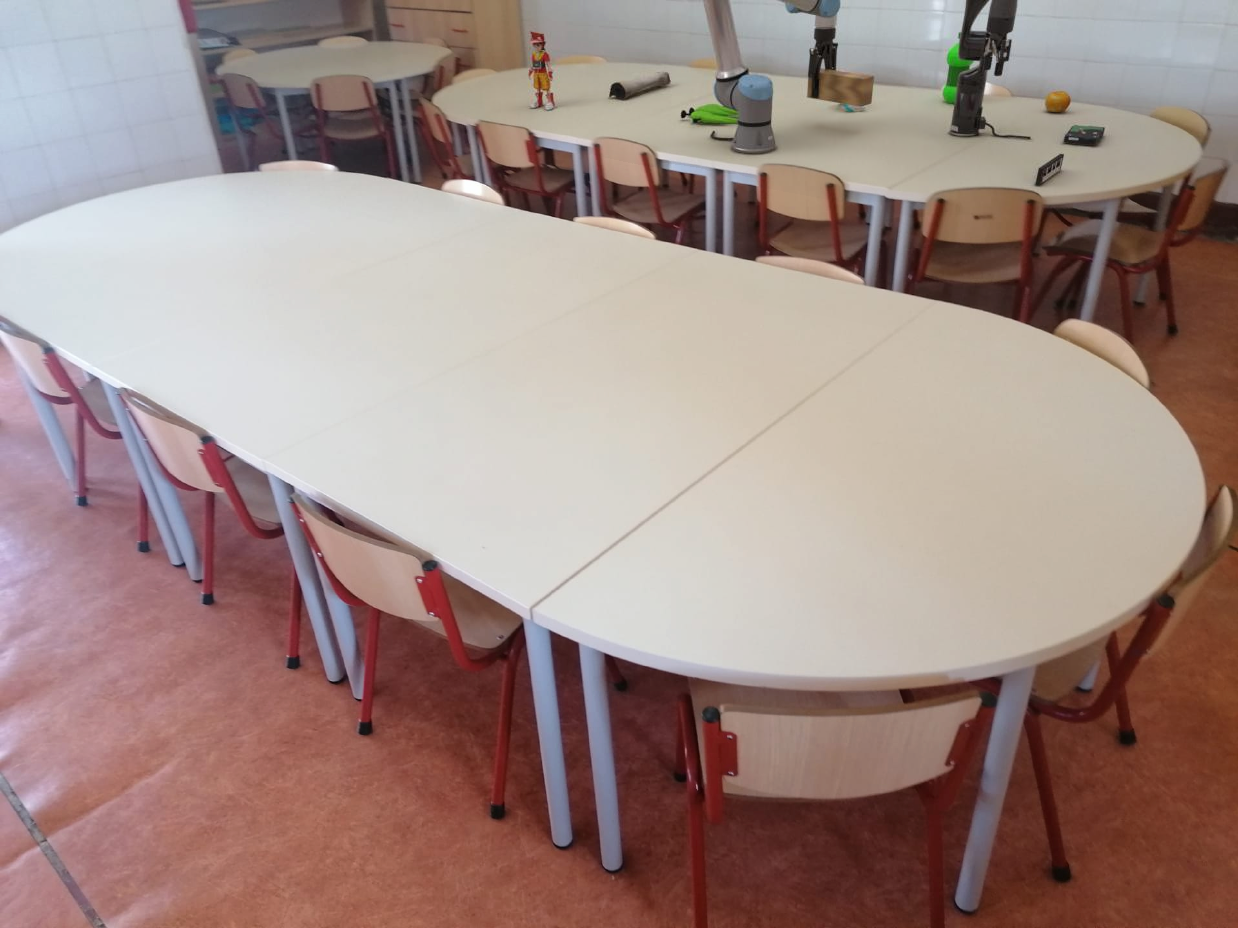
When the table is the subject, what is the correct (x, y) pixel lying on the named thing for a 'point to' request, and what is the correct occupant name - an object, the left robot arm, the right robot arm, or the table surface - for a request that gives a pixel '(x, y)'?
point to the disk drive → (1084, 135)
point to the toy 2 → (711, 114)
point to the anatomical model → (853, 107)
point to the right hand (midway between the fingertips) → (992, 73)
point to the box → (843, 87)
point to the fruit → (1057, 101)
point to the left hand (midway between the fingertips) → (820, 95)
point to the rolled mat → (638, 84)
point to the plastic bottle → (954, 72)
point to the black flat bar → (1049, 169)
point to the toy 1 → (541, 71)
